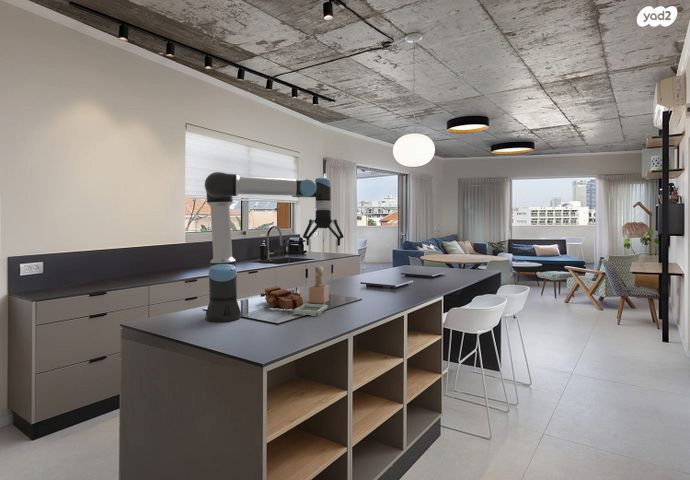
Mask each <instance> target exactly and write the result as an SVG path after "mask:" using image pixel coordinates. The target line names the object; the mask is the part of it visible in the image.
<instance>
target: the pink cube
mask: <svg viewBox="0 0 690 480" xmlns="http://www.w3.org/2000/svg"><path fill="white" fill-rule="evenodd" d="M329 289H330V285H328V284H323V287H315V284H312V285H311V286H308V304H325V303H327V302H329V300H330V298H329V297H330V295H329V294H330V290H329Z"/></svg>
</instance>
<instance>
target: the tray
mask: <svg viewBox="0 0 690 480" xmlns="http://www.w3.org/2000/svg"><path fill="white" fill-rule="evenodd" d="M328 307H329V305H328V304H320V303H303V305H302V306H299V307H297V308H296V307H294V309H292V315H293V314H308V315H311V316H310V317H320V316H321V315H322V314H323V313H325V312H326V311H325V310H327V309H328ZM304 308H319V309H317V310H315V309H304Z"/></svg>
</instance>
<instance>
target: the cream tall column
mask: <svg viewBox="0 0 690 480" xmlns="http://www.w3.org/2000/svg"><path fill="white" fill-rule="evenodd" d="M314 278H315V279H314V285H315V287H323V285H324V266H314Z"/></svg>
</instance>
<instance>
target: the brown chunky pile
mask: <svg viewBox="0 0 690 480" xmlns="http://www.w3.org/2000/svg"><path fill="white" fill-rule="evenodd" d="M259 295H260V298H261V297H264V299H265V302H266V303H267V304H268V306H269V307H271V308H272V309H273V308H275V307H278V308H279V307H280V308H282V309H284V310H287V311H288V310H294V309H295V308H297V307H299V306H302V305H303V304H304V302H303V297H302V296H301V293H300V292H299V293H298V287H295V292H293V291H290V290H288V289H285V288H281V287H280V286H278V285H276V286H271V287H267V288H264V292H261V293H260V294H259Z"/></svg>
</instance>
